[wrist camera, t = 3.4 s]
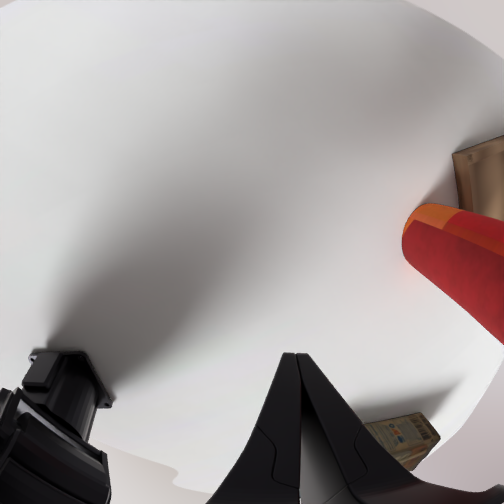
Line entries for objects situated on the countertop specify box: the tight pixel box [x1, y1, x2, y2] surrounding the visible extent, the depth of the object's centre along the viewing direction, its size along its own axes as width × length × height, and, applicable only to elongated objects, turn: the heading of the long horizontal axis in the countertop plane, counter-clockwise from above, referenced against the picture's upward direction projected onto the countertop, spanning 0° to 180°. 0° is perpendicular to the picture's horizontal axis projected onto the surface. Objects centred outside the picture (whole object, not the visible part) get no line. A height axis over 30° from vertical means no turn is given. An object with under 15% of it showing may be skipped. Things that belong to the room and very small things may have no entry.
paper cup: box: [402, 203, 504, 345], centre depth 15 cm, size 8×8×14 cm
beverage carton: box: [299, 412, 441, 498], centre depth 27 cm, size 8×19×7 cm, turn 78°
